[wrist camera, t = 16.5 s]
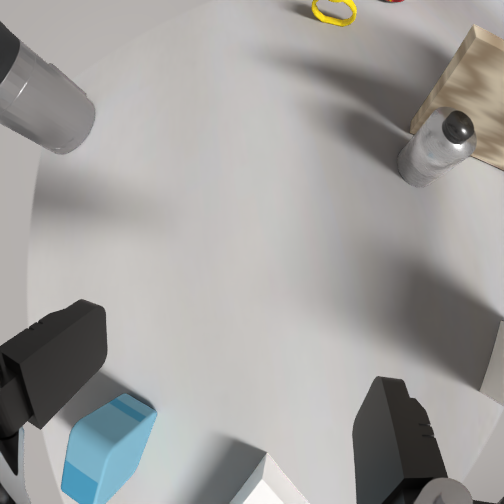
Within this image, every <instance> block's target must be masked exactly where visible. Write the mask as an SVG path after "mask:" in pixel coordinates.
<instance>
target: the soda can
mask: <svg viewBox="0 0 504 504" xmlns="http://www.w3.org/2000/svg"><path fill="white" fill-rule="evenodd" d="M384 1H389V2H401V1H404V0H384Z"/></svg>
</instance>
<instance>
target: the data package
mask: <svg viewBox="0 0 504 504" xmlns="http://www.w3.org/2000/svg"><path fill="white" fill-rule="evenodd" d="M156 416H157V412H156V411H155V410H154V409H152V408H150V407H148V406H147V405H145V404H143V403H141V402H140V401H138V400H136V399H135V398H133V397H131V396H130V395H128V394H126V393H124V394H122V395H120V396H119V397H117V398H115V399H114V400H112V401H110V402H109V403H107V404H105V405H104V406H102V407H100V408H99V409H97V410H95V411H94V412H92V413H90V414H89V415H87V416H85V417H84V418H82V419H80V420H79V421H78V422H77V423H76V424H75V425H74V427H73V428H72V430H71V432H70V435H69V441H68V446H67V451H66V457H65V463H64V469H63V476H62V483H61V490H62V491H63V492H64V493H65V494H67V495H68V496H69V497H71V498H72V499H74V500H75V501H76V502H78V503H79V504H106V502H107V501H108V500H109V499H110V498H111V497H112V496H113V495H114V494H115V493H116V492H117V491H118V490H119V489H120V488H121V487H122V486H123V485H124V483H125V482H126V481H127V480H128V479H129V478H130V477H131V476H132V475H133V473H134V472H135V470H136V468H137V466H138V464H139V461H140V458H141V456H142V453H143V450H144V448H145V445H146V443H147V440H148V437H149V435H150V432H151V429H152V427H153V424H154V422H155V419H156Z"/></svg>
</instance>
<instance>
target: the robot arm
mask: <svg viewBox="0 0 504 504" xmlns="http://www.w3.org/2000/svg"><path fill="white" fill-rule="evenodd" d="M94 119H95V108H94V105H93V103H92V102H91V101H90V100H89V99H88V98H87V97H86V93H85V92H84V91H83V90H82V89H81V88H79V87H78V86H77V85H76V84H75V83H74V82H73V81H71V80H70V79H69V78H68V77H67V76H66V75H65V74H63V73H62V72H61V71H60V70H59V69H58V68H57V67H55V66H54V65H53V64H51V63H49V64H47V63H46V62H45V61H44V60H43V59H42V58H41V57H39V56H38V55H37V54H36V53H35V52H33V51H32V50H31V49H30V48H29V47H27V46H26V45H25V44H24V43H23V42H22V41H21V40H19V39H18V38H17V37H16V36H15V35H14V34H12V33H11V32H10V31H9V30H8V29H7V28H6V27H5V25H4V24H3V23H1V22H0V123H1V124H2V125H4V126H6V127H8V128H10V129H11V130H13V131H15V132H17V133H19V134H21V135H22V136H24V137H26V138H28V139H30V140H32V141H34V142H35V143H37V144H39V145H41V146H43V147H45V148H47V149H48V150H50V151H52V152H54V153H56V154H66V153H68V152H71V151H72V150H74V149H75V148H77V147H78V146H79V145H80V144H81V143H82V142H83V141H84V139H85V138H86V137H87V135H88V134H89V132H90V130H91V128H92V126H93V123H94ZM106 356H107V332H106V312H105V309H104V308H103V307H102V306H100V305H97V304H94V303H91V302H89V301H86V300H83V299H81V300H78V301H77V302H75V303H73V304H72V305H70V306H69V307H67V308H66V309H63V310H59V311H56V312H53V313H50V314H48V315H47V316H45V317H43V318H42V319H40V320H39V321H38V323H37V322H36V323H34V324H33V325H31V326H30V327H29V329H28V328H26V329H25V330H24V331H22V332H20V333H19V334H17V335H16V336H14V337H13V338H12V339H10V340H8V341H7V342H5V343H4V344H3V345H1V346H0V504H31V501H30V499H29V496H28V493H27V491H26V487H25V478H24V429H23V425H24V424H25V423H26V422H27V421H28V422H30V423H31V424H33V425H34V426H36V427H37V428H39V429H40V430H41V429H42V428H43V427H44V426H45V425H46V424H47V423H48V421H49V420H50V419H51V418H52V417H53V416H54V415H55V414H56V413H57V412H58V411H59V410H60V409H61V408H62V407H63V406H64V405H65V404H66V403H67V402H68V401H69V400H70V399H71V398H72V397H73V396H74V395H75V393H76V392H77V391H78V390H79V389H80V388H81V387H82V386H83V385H84V384H85V383H86V382H87V381H88V380H89V379H90V378H91V377H92V376H93V375H94V374H95V373H96V372H97V371H98V370H99V369H100V368H101V367H102V365H103V364H104V362H105V360H106ZM352 437H353V449H354V463H355V479H356V499H357V504H496V503H489V502H482V501H475V500H472V496H471V494H470V492H469V491H468V489H467V488H466V487H465V486H464V485H463V484H462V483H460V482H458V481H456V480H454V479H450V478H448V476H447V472H446V469H445V466H444V463H443V459H442V456H441V453H440V450H439V447H438V444H437V441H436V438H434V432H433V429H432V427H430V421H429V418H428V415H427V413H426V410H425V409H424V408H423V407H422V406H421V404H420V403H419V402H418V401H417V400H416V399H415V398H410V397H409V394H408V391H407V388H406V385H405V383H404V381H403V380H402V379H395V378H387V377H380V376H378V377H376V378H375V379H374V381H373V383H372V385H371V387H370V389H369V391H368V393H367V395H366V397H365V399H364V401H363V403H362V405H361V407H360V409H359V411H358V413H357V415H356V418H355V421H354V425H353V431H352ZM497 504H504V497H503V498H502V499H501V500H500V501H499V502H498V503H497Z"/></svg>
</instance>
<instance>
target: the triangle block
mask: <svg viewBox="0 0 504 504" xmlns="http://www.w3.org/2000/svg"><path fill="white" fill-rule="evenodd" d="M229 504H310V503H309V502H308V501H307V500H306V499H305V497H304V496H303V495H302V494H301V493H300V492H299V490H298V489H297V488H296V487H295V486H294V485H293V483H292V482H291V481H290V480H289V479H288V477H287V476H286V475H285V474H284V473H283V471H282V470H281V469H280V468H279V466H278V465H277V464H276V463H275V461H274V460H273V459H272V458H271V456H270V455H269V454H268V453H266V455H265V456H264V457H263V459H262V460H261V462H260V463H259V465H258V466H257V467H256V469H255V470H254V471H253V473H252V474H251V476H250V477H249V478H248V480H247V481H246V482H245V484H244V485H243V486H242V488H241V489H240V490H239V492H238V493H237V494H236V495H235V497H234V498H233V499H232V501H231V502H230V503H229Z"/></svg>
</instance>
